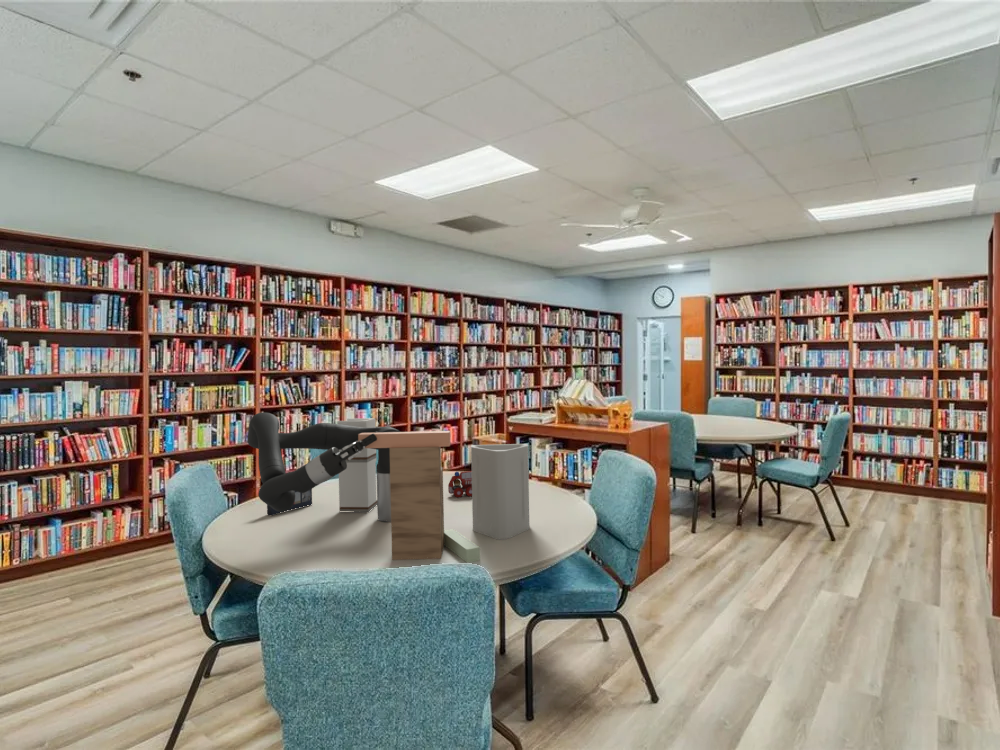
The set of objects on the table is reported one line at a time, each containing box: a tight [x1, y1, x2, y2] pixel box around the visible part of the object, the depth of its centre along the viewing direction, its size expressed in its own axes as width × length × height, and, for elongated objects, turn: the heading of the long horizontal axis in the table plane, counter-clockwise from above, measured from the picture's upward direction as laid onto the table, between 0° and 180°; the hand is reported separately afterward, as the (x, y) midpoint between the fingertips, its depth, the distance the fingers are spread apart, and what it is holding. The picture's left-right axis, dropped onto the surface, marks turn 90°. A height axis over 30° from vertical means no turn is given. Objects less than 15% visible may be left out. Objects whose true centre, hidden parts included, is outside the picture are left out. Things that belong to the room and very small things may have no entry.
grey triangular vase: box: [470, 443, 530, 540], centre depth 178 cm, size 19×15×28 cm
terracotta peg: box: [358, 430, 451, 448], centre depth 157 cm, size 4×26×4 cm, turn 91°
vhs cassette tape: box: [266, 488, 313, 516], centre depth 212 cm, size 18×3×10 cm, turn 143°
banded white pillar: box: [336, 417, 377, 513], centre depth 211 cm, size 11×11×35 cm
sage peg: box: [444, 528, 481, 563], centre depth 161 cm, size 20×4×4 cm, turn 27°
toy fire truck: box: [447, 470, 472, 498], centre depth 230 cm, size 7×12×10 cm, turn 105°
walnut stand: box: [390, 447, 445, 561], centre depth 160 cm, size 12×14×32 cm
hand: (376, 435), depth 156 cm, fingers closed on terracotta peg, 4 cm apart
